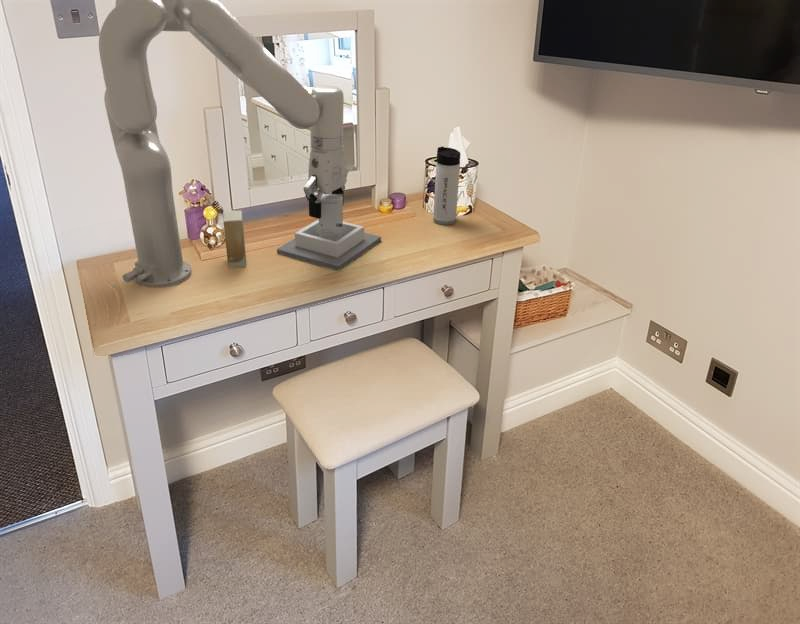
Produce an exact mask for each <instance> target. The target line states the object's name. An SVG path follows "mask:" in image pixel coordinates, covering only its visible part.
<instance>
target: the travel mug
mask: <svg viewBox="0 0 800 624" xmlns="http://www.w3.org/2000/svg"><path fill="white" fill-rule="evenodd" d="M436 152H437V153H436V162H435V163H436V164H435V179H434V181H435V182H434V198H433V216H432V220H433V222H434V223H436V224H438V225H441V226H442V225H443V226H448V225H449V226H450V225H453V224H455V223H456V221H457V210H458V209H457V208H458V198H459V197H458V196H459V194H458V193H459V181H460V167H461V166H460V165H461V152H460V151H459V150H458V149H456V148H452V147H445V146H439V147H437V150H436Z"/></svg>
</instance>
